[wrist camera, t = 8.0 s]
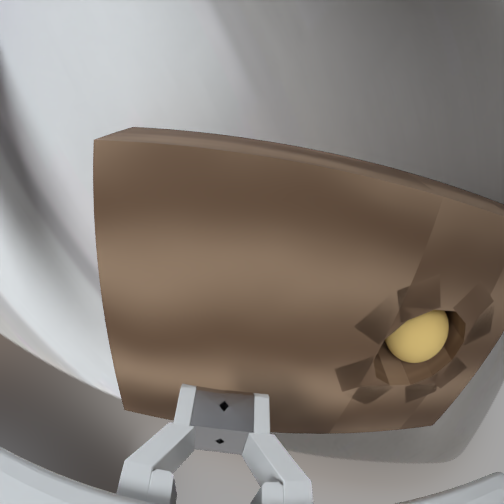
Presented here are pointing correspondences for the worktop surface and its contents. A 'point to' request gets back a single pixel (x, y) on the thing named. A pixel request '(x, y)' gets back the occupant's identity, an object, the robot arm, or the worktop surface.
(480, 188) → the worktop surface
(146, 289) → the board
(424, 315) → the ball
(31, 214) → the worktop surface
